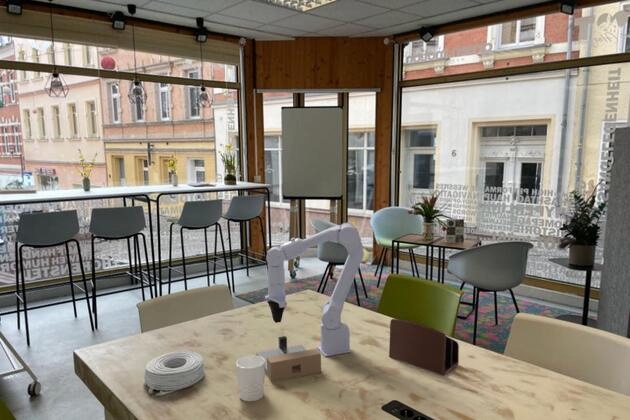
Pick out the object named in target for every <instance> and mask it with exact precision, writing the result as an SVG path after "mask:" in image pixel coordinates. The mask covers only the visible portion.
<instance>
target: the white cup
mask: <svg viewBox="0 0 630 420" xmlns="http://www.w3.org/2000/svg"><path fill="white" fill-rule="evenodd" d="M235 366H236V379H237V385H238V388H237V389H238V393H239V394H238V395H239V399H241V400H242V401H245V402H255V401H258V400H260V399H262V398H263V396H264V395H265V393H264V392H265V391H264V390H265V389H264V388H265V374H266V372H265V360H264V358H263V357H260V356H257V354H255V355H253V354H250V355H244V356H242V357H240V358H238V359H237V360H236V362H235Z"/></svg>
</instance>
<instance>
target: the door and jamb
mask: <svg viewBox="0 0 630 420" xmlns="http://www.w3.org/2000/svg"><path fill="white" fill-rule="evenodd" d="M287 349H288V351H289V352H290V353H288V354H282V355H281V354H280V353H279V348H274V349H271V350H265V351H258V352H256V354H255V355H256V356H260V357H263V358H264V360H265V374H266V376H267V377H268V379H269V381H270V382H271V383H273V382H277V381H283V380H288V379H294V378H299V377H303V376H309V375H313V374H319V373H322V353H321V352H320V350H319V349H318V348H311V349H306V347H304V346H303V344H299V345H293V346H287Z"/></svg>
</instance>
